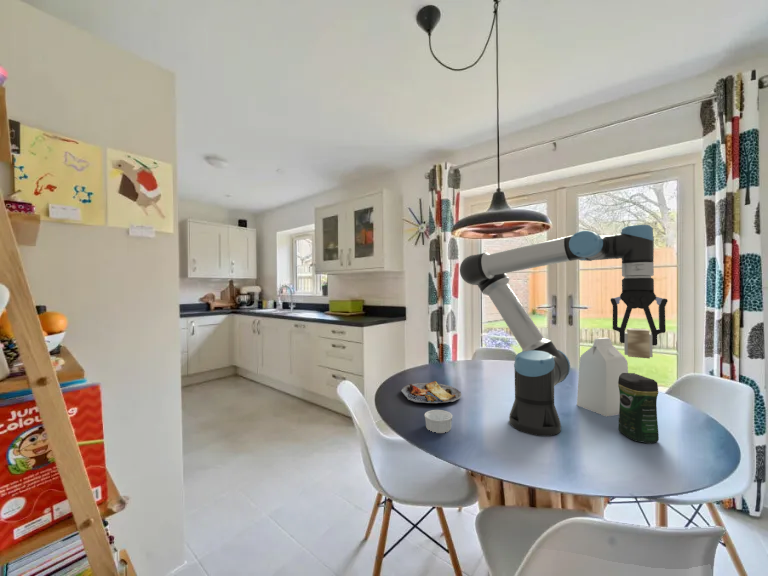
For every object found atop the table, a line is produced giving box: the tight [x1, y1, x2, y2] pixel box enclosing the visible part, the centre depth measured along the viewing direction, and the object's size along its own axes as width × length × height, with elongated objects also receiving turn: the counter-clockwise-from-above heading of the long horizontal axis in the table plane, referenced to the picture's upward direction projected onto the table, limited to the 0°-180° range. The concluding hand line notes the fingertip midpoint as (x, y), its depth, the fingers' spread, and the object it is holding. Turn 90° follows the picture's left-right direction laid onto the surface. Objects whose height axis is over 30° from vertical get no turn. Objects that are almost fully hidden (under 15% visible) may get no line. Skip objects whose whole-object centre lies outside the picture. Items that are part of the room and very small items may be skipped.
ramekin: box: [424, 409, 453, 434], centre depth 104 cm, size 9×9×4 cm
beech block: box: [626, 327, 651, 359], centre depth 96 cm, size 5×5×8 cm
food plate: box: [400, 380, 462, 404], centre depth 134 cm, size 25×23×4 cm
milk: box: [576, 337, 629, 417], centre depth 119 cm, size 12×12×26 cm
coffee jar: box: [617, 372, 660, 444], centre depth 97 cm, size 10×8×19 cm
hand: (638, 355), depth 96 cm, fingers closed on beech block, 5 cm apart
